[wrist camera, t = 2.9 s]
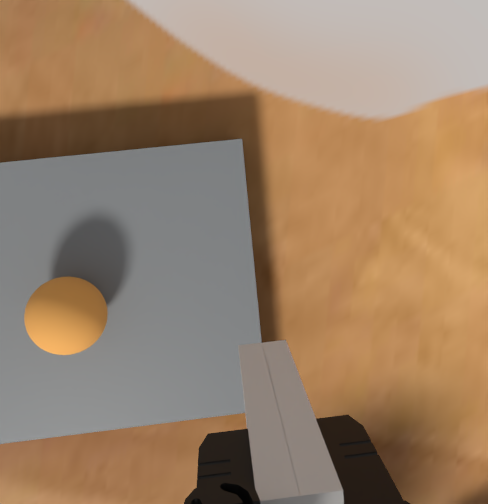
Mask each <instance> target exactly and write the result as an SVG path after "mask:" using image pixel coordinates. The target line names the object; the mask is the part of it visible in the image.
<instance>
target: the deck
mask: <svg viewBox="0 0 488 504" xmlns="http://www.w3.org/2000/svg"><path fill="white" fill-rule="evenodd" d="M68 276H69V277H77V278H81V279H84V280H86V281H88V282H90V283H91V284H93V285H94V286H95V287H96V288H97V289H98V290H99V291H100V292H101V294H102V295H103V297H104V299H105V302H106V305H107V311H108V316H107V323H106V326H105V329H104V331H103V333H102V335H101V336H100V337H99V339H98V340H97V341H96V342H95V343H94V344H93V345H92V346H90V347H89V348H87V349H86V350H84V351H81V352H79V353H75V354H71V355H57V354H52V353H49V352H47V351H45V350H43V349H41V348H40V347H38V346H37V345H36V344H35V343H34V342H33V341H32V340H31V338H30V337H29V335H28V333H27V330H26V327H25V322H24V314H25V308H26V305H27V303H28V300H29V298H30V297H31V295H32V294H33V293H34V292H35V290H36V289H37V288H39V287H40V286H41V285H42V284H44V283H46V282H47V281H50V280H52V279H55V278H59V277H68ZM255 343H262V340H261V330H260V320H259V309H258V299H257V289H256V278H255V268H254V257H253V247H252V237H251V226H250V216H249V206H248V195H247V185H246V174H245V164H244V154H243V143H242V139H234V140H224V141H214V142H204V143H194V144H184V145H174V146H163V147H153V148H143V149H133V150H123V151H113V152H103V153H93V154H83V155H73V156H62V157H52V158H42V159H32V160H22V161H12V162H2V163H0V444H4V443H12V442H20V441H27V440H35V439H43V438H51V437H59V436H67V435H75V434H82V433H90V432H98V431H106V430H114V429H122V428H129V427H137V426H145V425H153V424H161V423H169V422H177V421H184V420H192V419H200V418H208V417H216V416H224V415H232V414H239V413H245V404H244V395H243V386H242V377H241V367H240V358H239V349H238V345H246V344H255Z"/></svg>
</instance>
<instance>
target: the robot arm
mask: <svg viewBox="0 0 488 504" xmlns="http://www.w3.org/2000/svg"><path fill="white" fill-rule="evenodd" d="M238 349H239V358H240V367H241V377H242V386H243V395H244V404H245V414H246V423H247V429H243V430H235V431H227V432H219V433H211V434H208V435H207V436H206V438H205V439H204V441H203V442H202V444H201V446H200V447H199V456H198V474H197V477H198V480H197V488H196V489H194V490H193V491H192V493H191V494H190V495H189V496H188V497H187V498H186V499H185V502H184V504H410V503H408V502H407V501H404V500H403V499H402V497H401V495H400V493H399V491H398V490H397V488H396V486H395V484H394V482H393V480H392V479H391V477H390V475H389V473H388V471H387V469H386V468H385V466H384V464H383V462H382V460H381V458H380V456H379V455H377V451H376V449H375V447H374V445H373V444H372V443H371V440H370V438H369V436H368V434H367V433H366V431H365V429H364V427H363V426H362V425H361V424H360V423H358V422H357V421H356V420H354V419H353V418H352V417H350V416H349V415H343V416H335V417H327V418H319V419H316V418H315V415H314V413H313V410H312V407H311V405H310V402H309V400H308V397H307V394H306V392H305V389H304V386H303V384H302V381H301V379H300V376H299V373H298V371H297V368H296V365H295V363H294V360H293V358H292V355H291V352H290V350H289V347H288V344H287V342H286V340H280V341H272V342H263V343H255V344H246V345H238Z"/></svg>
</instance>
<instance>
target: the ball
mask: <svg viewBox="0 0 488 504" xmlns="http://www.w3.org/2000/svg"><path fill="white" fill-rule="evenodd" d="M107 316H108V311H107V305H106V302H105V299H104V297H103V295H102V294H101V292H100V291H99V290H98V289H97V288H96V287H95V286H94V285H93V284H91V283H90V282H88V281H86V280H84V279H81V278H77V277H69V276H68V277H59V278H55V279H52V280H50V281H47V282H46V283H44V284H42V285H41V286H40V287H39V288H37V289H36V290H35V292H34V293H33V294H32V295H31V297H30V298H29V300H28V303H27V305H26V308H25V314H24V322H25V327H26V330H27V333H28V335H29V337H30V338H31V340H32V341H33V342H34V343H35V344H36V345H37V346H38V347H40V348H41V349H43V350H45V351H47V352H49V353H52V354H57V355H71V354H75V353H79V352H81V351H84V350H86V349H87V348H89V347H90V346H92V345H93V344H94V343H95V342H96V341H97V340H98V339H99V337H100V336H101V335H102V333H103V331H104V329H105V326H106V323H107Z"/></svg>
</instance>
